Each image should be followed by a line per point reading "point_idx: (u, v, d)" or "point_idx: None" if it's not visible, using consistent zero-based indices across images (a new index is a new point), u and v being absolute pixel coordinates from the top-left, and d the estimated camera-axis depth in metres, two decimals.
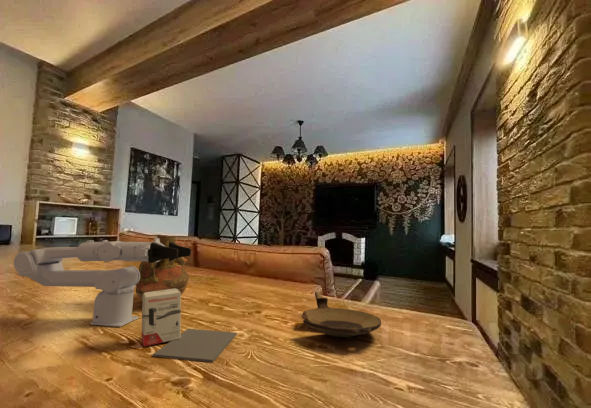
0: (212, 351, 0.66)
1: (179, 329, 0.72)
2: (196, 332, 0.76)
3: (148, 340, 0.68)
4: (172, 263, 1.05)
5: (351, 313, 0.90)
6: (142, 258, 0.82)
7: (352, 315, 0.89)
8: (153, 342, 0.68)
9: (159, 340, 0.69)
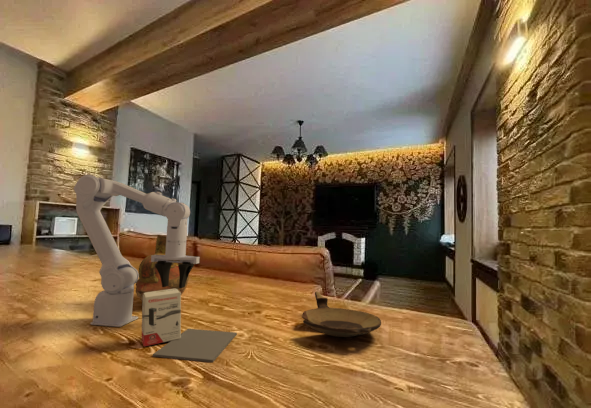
0: (212, 351, 0.66)
1: (179, 329, 0.72)
2: (196, 332, 0.76)
3: (148, 340, 0.68)
4: (172, 263, 1.05)
5: (351, 313, 0.90)
6: (179, 249, 0.84)
7: (352, 315, 0.89)
8: (153, 342, 0.68)
9: (159, 340, 0.69)
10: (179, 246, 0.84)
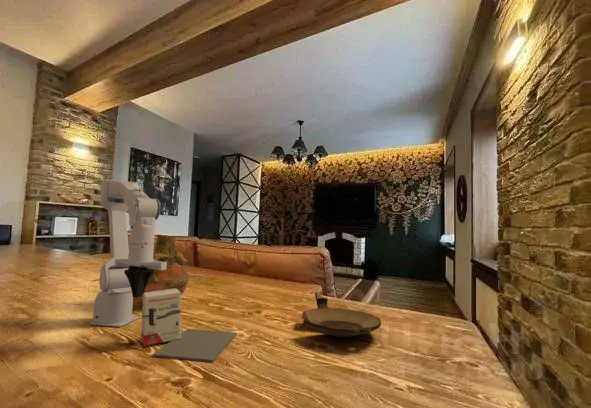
0: (212, 351, 0.66)
1: (179, 329, 0.72)
2: (196, 332, 0.76)
3: (148, 340, 0.68)
4: (172, 263, 1.05)
5: (351, 313, 0.90)
6: (142, 252, 0.72)
7: (352, 315, 0.89)
8: (153, 342, 0.68)
9: (159, 340, 0.69)
10: (142, 249, 0.72)
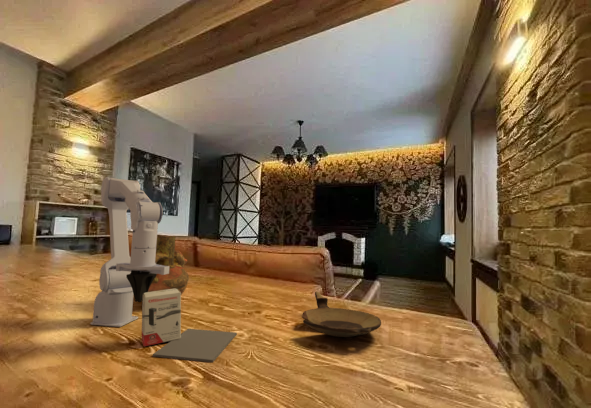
0: (212, 351, 0.66)
1: (179, 329, 0.72)
2: (196, 332, 0.76)
3: (148, 340, 0.68)
4: (172, 263, 1.05)
5: (351, 313, 0.90)
6: (145, 257, 0.71)
7: (352, 316, 0.89)
8: (153, 342, 0.68)
9: (159, 340, 0.69)
10: (145, 253, 0.72)
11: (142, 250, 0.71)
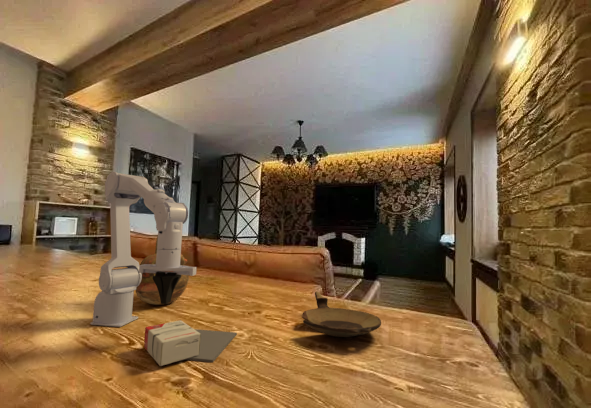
0: (212, 351, 0.66)
1: None
2: None
3: None
4: None
5: (351, 313, 0.90)
6: (172, 258, 0.71)
7: (352, 315, 0.89)
8: None
9: None
10: (172, 254, 0.71)
11: (170, 251, 0.71)
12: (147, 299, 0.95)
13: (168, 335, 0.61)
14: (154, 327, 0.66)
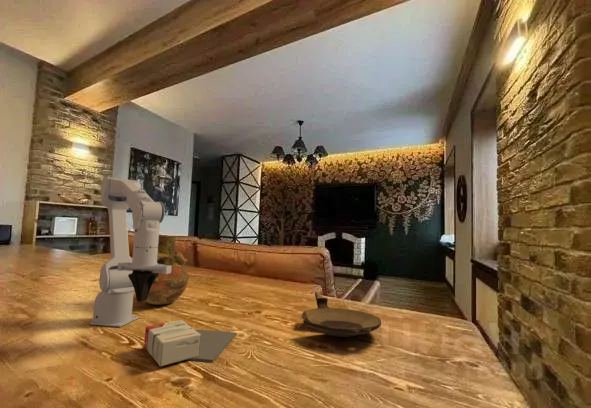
0: (212, 351, 0.66)
1: None
2: None
3: None
4: (172, 263, 1.05)
5: (351, 313, 0.90)
6: (147, 256, 0.71)
7: (352, 315, 0.89)
8: None
9: None
10: (147, 253, 0.72)
11: (144, 249, 0.71)
12: (147, 299, 0.95)
13: (169, 335, 0.61)
14: (154, 327, 0.66)
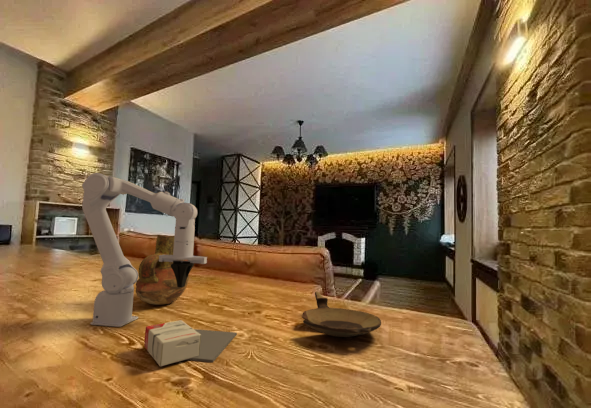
0: (212, 351, 0.66)
1: None
2: None
3: None
4: (172, 263, 1.05)
5: (351, 313, 0.90)
6: (187, 249, 0.85)
7: (352, 315, 0.89)
8: None
9: None
10: (187, 246, 0.85)
11: (185, 243, 0.85)
12: (147, 299, 0.95)
13: (169, 335, 0.61)
14: (154, 327, 0.66)
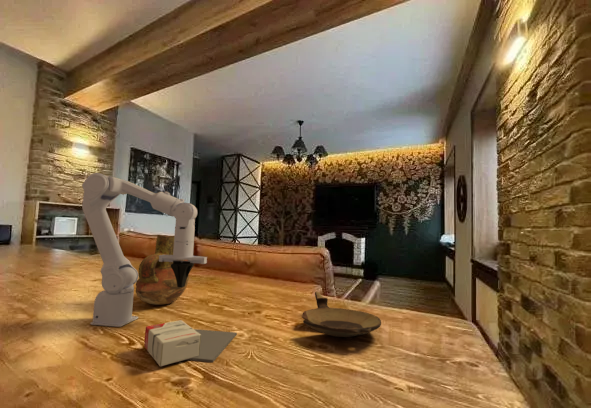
0: (212, 351, 0.66)
1: None
2: None
3: None
4: (172, 263, 1.05)
5: (351, 313, 0.90)
6: (187, 249, 0.85)
7: (352, 315, 0.89)
8: None
9: None
10: (187, 246, 0.85)
11: (185, 243, 0.85)
12: (147, 299, 0.95)
13: (169, 335, 0.61)
14: (154, 327, 0.66)
